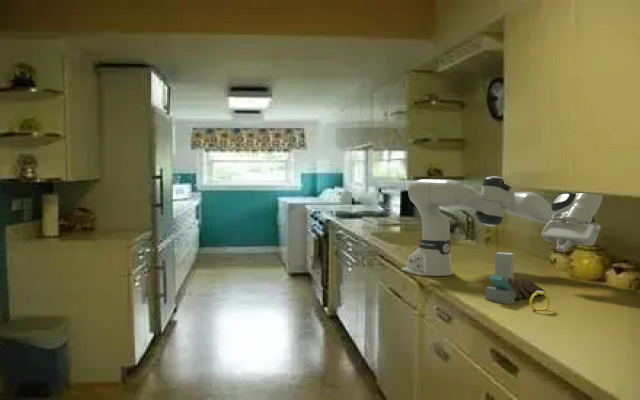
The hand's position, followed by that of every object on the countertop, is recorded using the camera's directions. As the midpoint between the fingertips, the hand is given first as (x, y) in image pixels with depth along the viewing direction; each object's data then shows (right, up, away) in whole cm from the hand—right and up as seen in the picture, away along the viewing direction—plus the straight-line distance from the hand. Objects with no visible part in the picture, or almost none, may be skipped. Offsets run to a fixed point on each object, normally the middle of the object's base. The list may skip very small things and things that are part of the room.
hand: (559, 250), depth 225 cm
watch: (-18, -16, -30) cm, 38 cm away
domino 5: (-10, -14, -6) cm, 18 cm away
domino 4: (-13, -14, -8) cm, 21 cm away
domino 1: (-22, -14, -15) cm, 30 cm away
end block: (-27, -15, -18) cm, 36 cm away
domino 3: (-17, -14, -11) cm, 25 cm away
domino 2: (-20, -15, -13) cm, 28 cm away
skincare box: (-17, -14, +11) cm, 24 cm away
